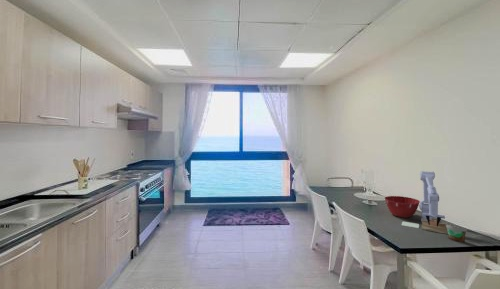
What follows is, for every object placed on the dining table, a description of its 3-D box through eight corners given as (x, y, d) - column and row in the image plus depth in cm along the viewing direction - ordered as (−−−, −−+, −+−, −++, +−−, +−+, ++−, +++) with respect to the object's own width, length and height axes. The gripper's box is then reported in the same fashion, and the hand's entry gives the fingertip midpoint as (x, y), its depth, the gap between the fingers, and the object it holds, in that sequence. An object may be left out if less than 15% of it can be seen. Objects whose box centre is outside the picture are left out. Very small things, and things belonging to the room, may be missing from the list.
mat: (402, 221, 216) (402, 221, 216) (419, 224, 209) (419, 224, 209) (401, 225, 206) (401, 225, 206) (418, 228, 199) (418, 228, 199)
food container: (441, 237, 181) (442, 223, 181) (447, 236, 183) (447, 222, 183) (461, 244, 169) (461, 229, 169) (466, 242, 171) (467, 228, 171)
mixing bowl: (418, 222, 214) (419, 204, 214) (381, 216, 232) (382, 199, 231) (420, 214, 237) (420, 198, 237) (386, 209, 254) (387, 194, 254)
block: (429, 226, 202) (429, 219, 201) (436, 227, 199) (436, 220, 199) (429, 227, 198) (429, 221, 198) (436, 229, 195) (436, 222, 195)
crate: (422, 224, 208) (422, 220, 208) (449, 229, 198) (449, 224, 197) (421, 229, 197) (421, 224, 197) (451, 234, 187) (451, 229, 187)
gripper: (422, 208, 199) (422, 225, 199) (445, 211, 191) (444, 229, 191) (422, 206, 205) (422, 223, 205) (444, 209, 196) (444, 226, 197)
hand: (433, 225), depth 198 cm, fingers closed on block, 4 cm apart
